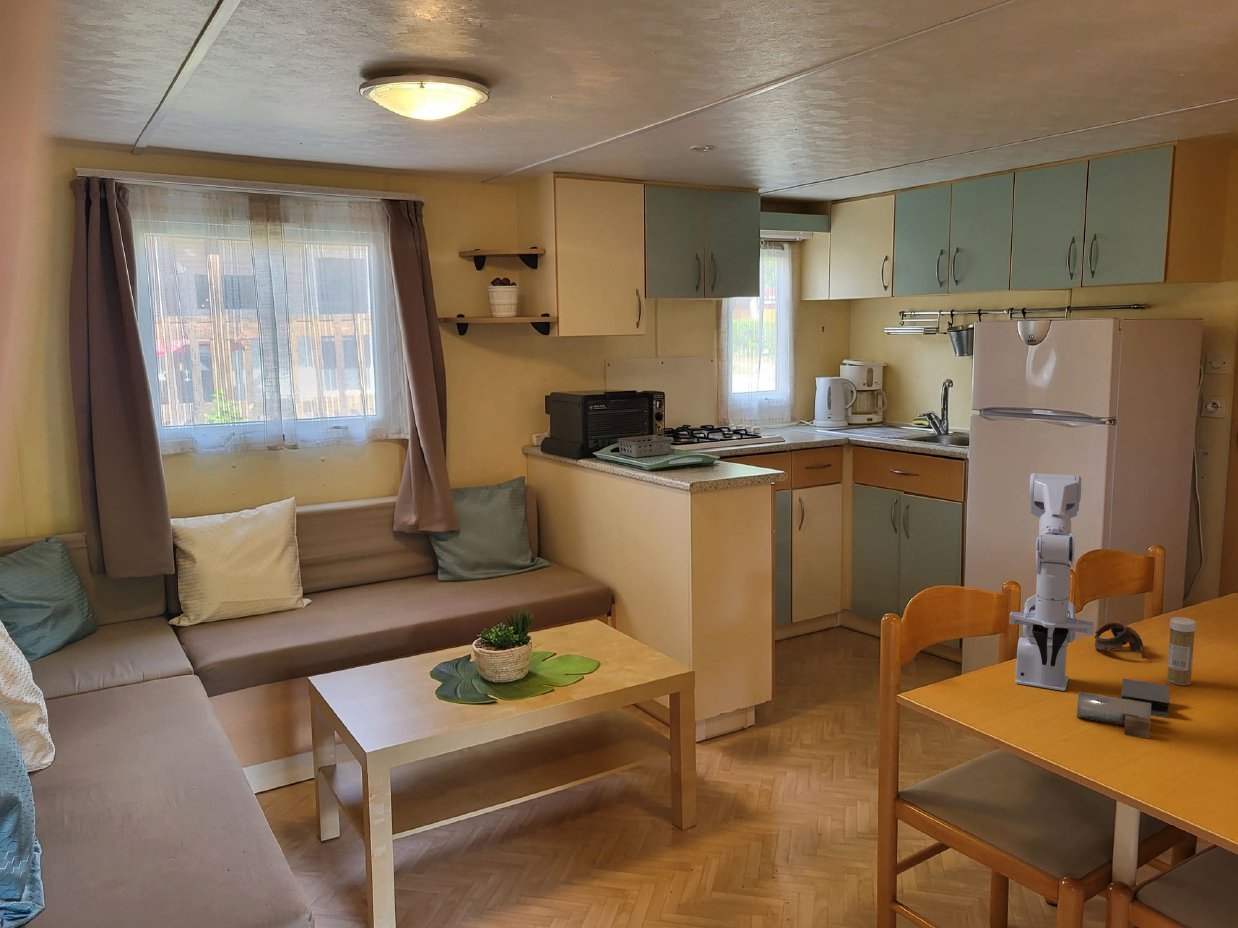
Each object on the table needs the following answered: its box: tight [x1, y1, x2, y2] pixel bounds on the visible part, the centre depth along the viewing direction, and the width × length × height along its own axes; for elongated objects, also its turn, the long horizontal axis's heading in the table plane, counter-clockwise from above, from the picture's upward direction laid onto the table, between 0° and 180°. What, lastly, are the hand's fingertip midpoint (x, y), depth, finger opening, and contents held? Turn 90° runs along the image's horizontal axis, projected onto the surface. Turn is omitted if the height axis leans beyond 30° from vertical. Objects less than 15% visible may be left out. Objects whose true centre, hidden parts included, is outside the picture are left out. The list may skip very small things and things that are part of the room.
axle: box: [1076, 691, 1152, 727], centre depth 175 cm, size 12×5×5 cm, turn 60°
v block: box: [1120, 678, 1170, 718], centre depth 181 cm, size 8×8×4 cm
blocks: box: [1123, 699, 1152, 740], centre depth 173 cm, size 4×10×3 cm, turn 150°
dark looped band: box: [1094, 620, 1146, 659], centre depth 210 cm, size 12×10×8 cm
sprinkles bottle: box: [1166, 616, 1197, 687], centre depth 191 cm, size 5×5×14 cm
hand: (1048, 664), depth 179 cm, fingers closed
